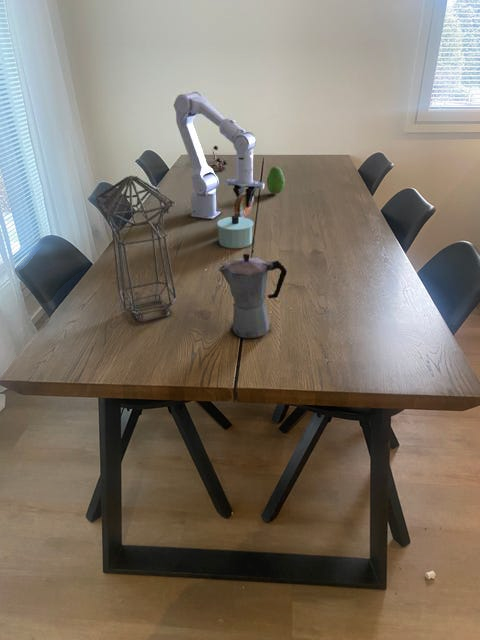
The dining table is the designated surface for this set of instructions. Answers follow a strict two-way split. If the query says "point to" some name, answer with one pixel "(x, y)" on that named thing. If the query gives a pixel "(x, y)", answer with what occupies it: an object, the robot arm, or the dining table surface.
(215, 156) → the decorative branch
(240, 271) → the moka pot
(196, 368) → the dining table surface
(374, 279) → the dining table surface
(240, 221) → the pot lid
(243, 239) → the pot
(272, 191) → the avocado
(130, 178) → the geometric lantern
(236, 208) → the tin
